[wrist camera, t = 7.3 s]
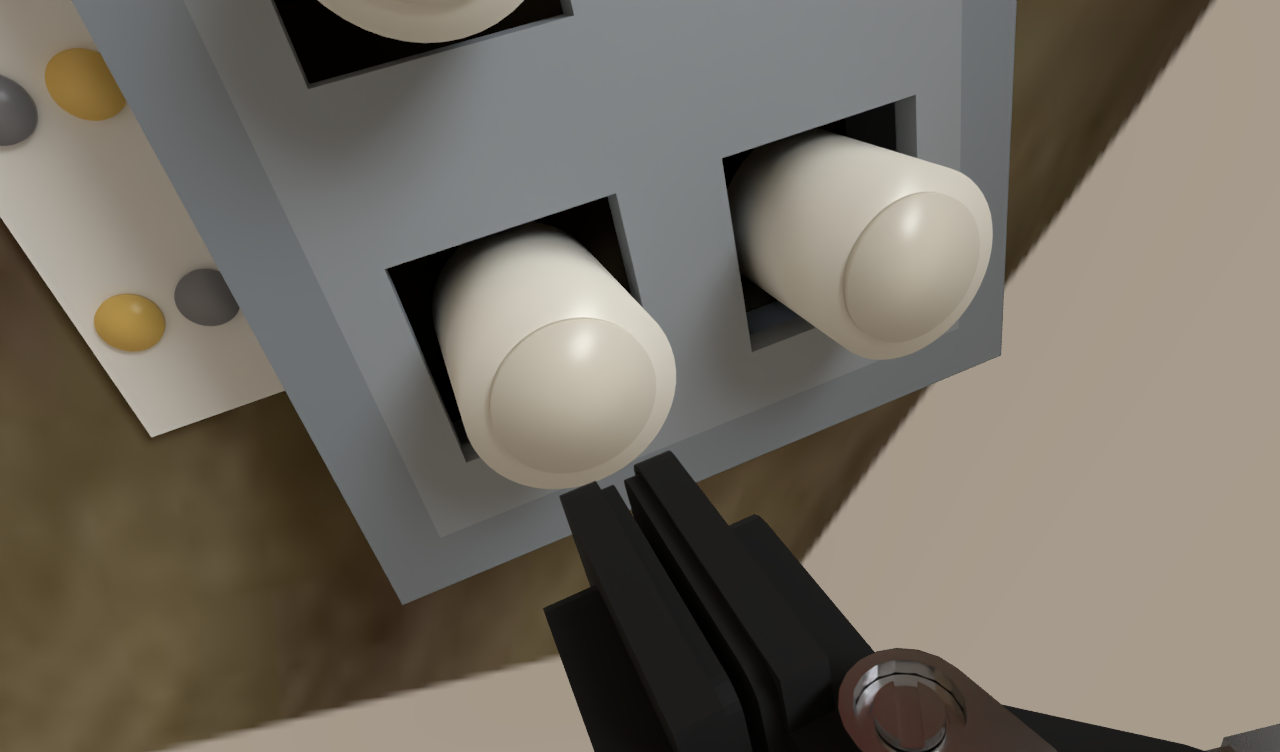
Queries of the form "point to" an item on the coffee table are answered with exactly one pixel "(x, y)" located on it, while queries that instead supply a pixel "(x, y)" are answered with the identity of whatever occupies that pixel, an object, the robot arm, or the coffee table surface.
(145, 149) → the card
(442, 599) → the coffee table surface
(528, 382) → the button
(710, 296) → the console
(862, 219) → the button
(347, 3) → the button
